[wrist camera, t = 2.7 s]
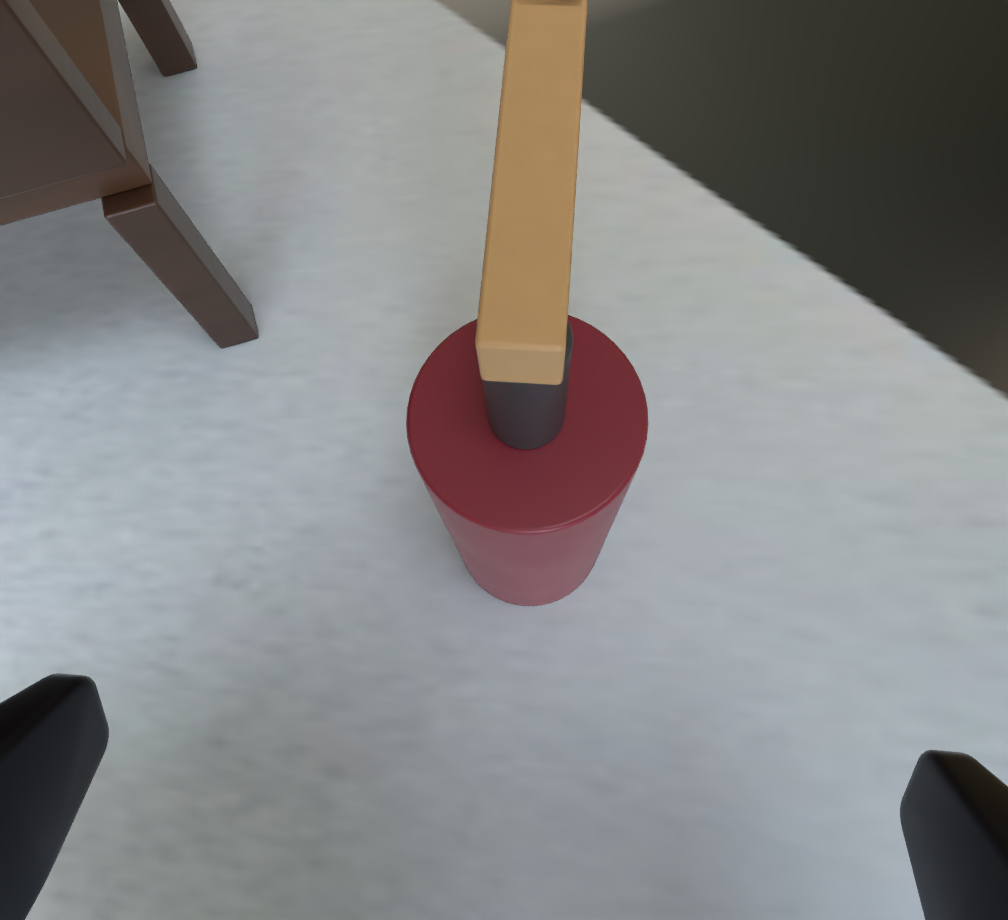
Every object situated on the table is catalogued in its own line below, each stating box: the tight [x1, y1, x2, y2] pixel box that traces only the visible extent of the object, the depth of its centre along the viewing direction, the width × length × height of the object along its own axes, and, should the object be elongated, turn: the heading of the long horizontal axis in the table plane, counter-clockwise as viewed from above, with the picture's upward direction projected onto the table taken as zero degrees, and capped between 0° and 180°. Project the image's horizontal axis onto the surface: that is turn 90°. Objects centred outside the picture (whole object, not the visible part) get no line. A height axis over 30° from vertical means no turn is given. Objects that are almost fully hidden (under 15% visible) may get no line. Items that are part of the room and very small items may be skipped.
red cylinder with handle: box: [406, 0, 648, 606], centre depth 15 cm, size 7×4×12 cm, turn 175°
